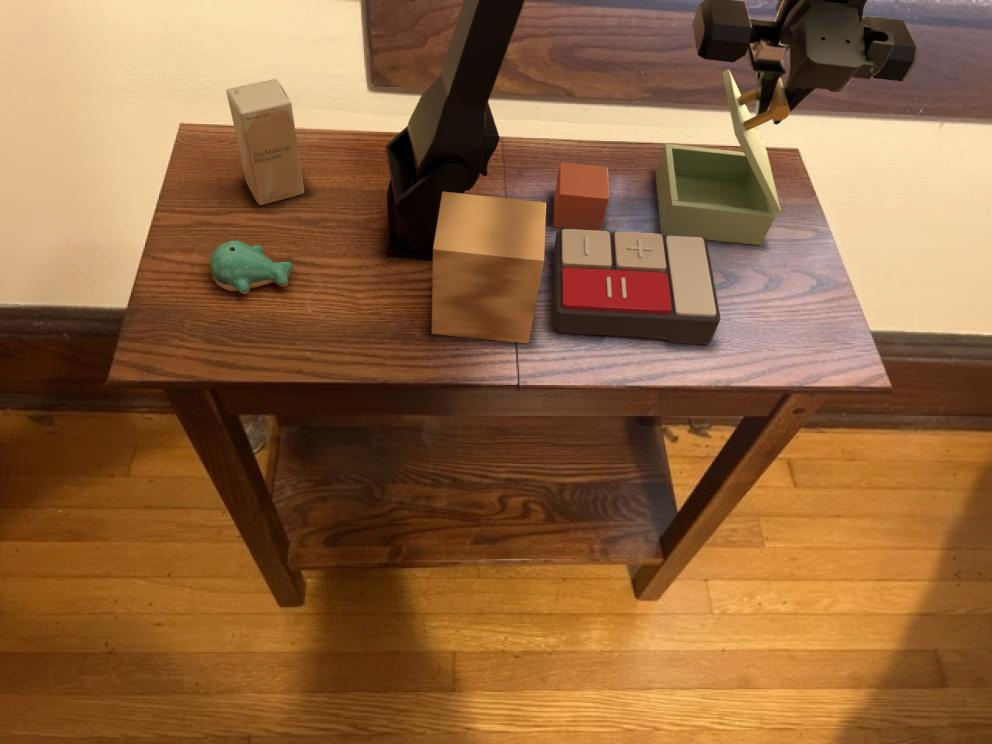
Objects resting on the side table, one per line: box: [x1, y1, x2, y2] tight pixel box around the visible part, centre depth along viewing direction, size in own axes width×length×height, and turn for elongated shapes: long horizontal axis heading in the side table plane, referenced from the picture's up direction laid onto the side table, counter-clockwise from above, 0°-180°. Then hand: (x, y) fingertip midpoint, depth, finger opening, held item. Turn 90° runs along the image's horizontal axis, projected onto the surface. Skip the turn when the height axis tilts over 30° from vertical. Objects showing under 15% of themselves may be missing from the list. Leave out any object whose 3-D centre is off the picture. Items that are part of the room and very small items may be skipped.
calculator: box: [553, 228, 721, 345], centre depth 71 cm, size 11×4×15 cm
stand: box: [431, 192, 547, 344], centre depth 65 cm, size 9×7×11 cm
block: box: [553, 161, 610, 231], centre depth 77 cm, size 5×5×4 cm
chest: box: [655, 143, 777, 246], centre depth 79 cm, size 11×10×4 cm
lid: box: [722, 69, 791, 214], centre depth 73 cm, size 11×10×5 cm
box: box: [225, 78, 305, 206], centre depth 73 cm, size 5×4×11 cm
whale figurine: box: [209, 240, 294, 295], centre depth 68 cm, size 6×7×4 cm
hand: (766, 121), depth 72 cm, fingers closed on lid
